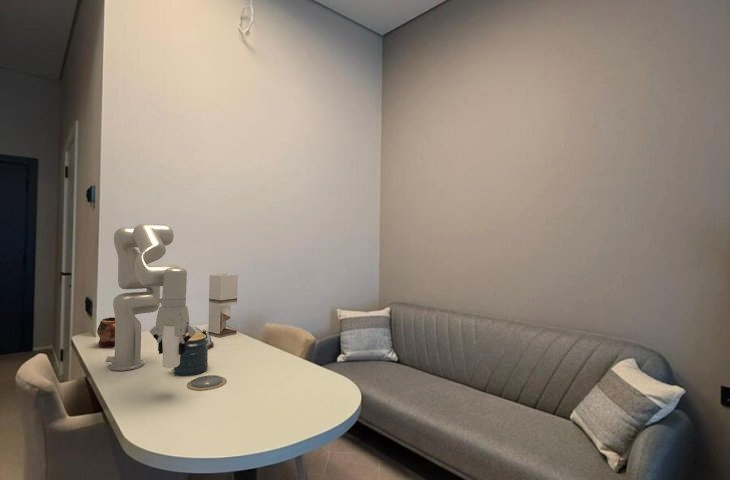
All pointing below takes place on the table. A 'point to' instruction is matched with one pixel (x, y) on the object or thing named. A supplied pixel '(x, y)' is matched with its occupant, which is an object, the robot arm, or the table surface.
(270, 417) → the table surface
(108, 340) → the decorative planter
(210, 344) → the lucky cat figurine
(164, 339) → the drinking glass
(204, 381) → the round coaster
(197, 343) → the canister
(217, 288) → the notched white tower
